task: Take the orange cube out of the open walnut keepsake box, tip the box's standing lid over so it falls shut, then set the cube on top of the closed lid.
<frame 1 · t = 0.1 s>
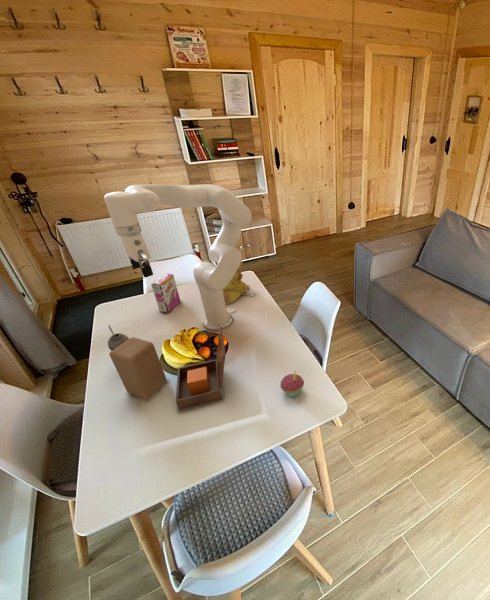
hand: (143, 271, 126), 37 cm above the table, tool pointing down, fingers open, 9 cm apart
cupcake: (292, 392, 127), on the table
giraffe plush: (230, 295, 183), on the table
beverage cup: (129, 365, 136), on the table
orange cube: (200, 387, 126), point 1 cm above the table, touching chest
lid: (220, 357, 123), point 13 cm above the table, hinge at 105.1°
candy bar box: (170, 306, 172), on the table
chest: (201, 388, 127), on the table
wooden block: (148, 388, 126), on the table
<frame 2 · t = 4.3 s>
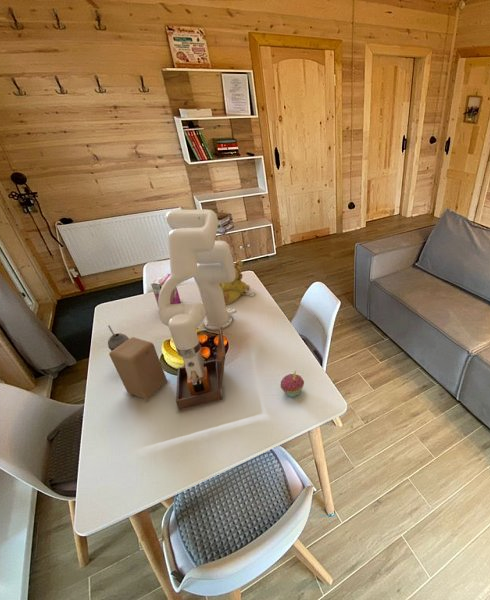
hand: (199, 383, 125), 3 cm above the table, tool pointing down, fingers closed on orange cube, 6 cm apart
orange cube: (200, 387, 126), point 1 cm above the table, touching chest, gripper
everything else where it was.
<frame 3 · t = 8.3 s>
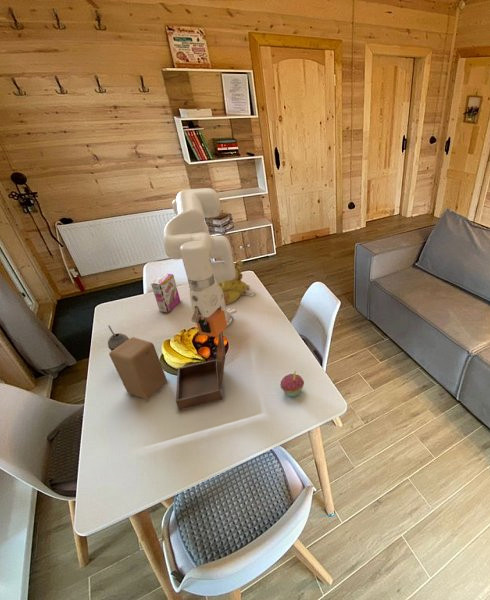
hand: (212, 325, 115), 28 cm above the table, tool pointing down, fingers closed on orange cube, 6 cm apart
orange cube: (213, 330, 116), point 26 cm above the table, touching gripper
everything else where it was.
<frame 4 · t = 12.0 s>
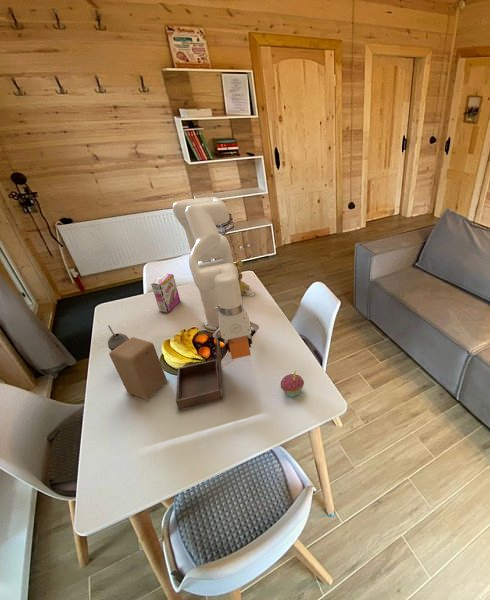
hand: (239, 347, 123), 16 cm above the table, tool pointing down, fingers closed on orange cube, 6 cm apart
orange cube: (240, 351, 124), point 14 cm above the table, touching gripper
lid: (218, 357, 122), point 13 cm above the table, hinge at 99.9°
everything else where it was.
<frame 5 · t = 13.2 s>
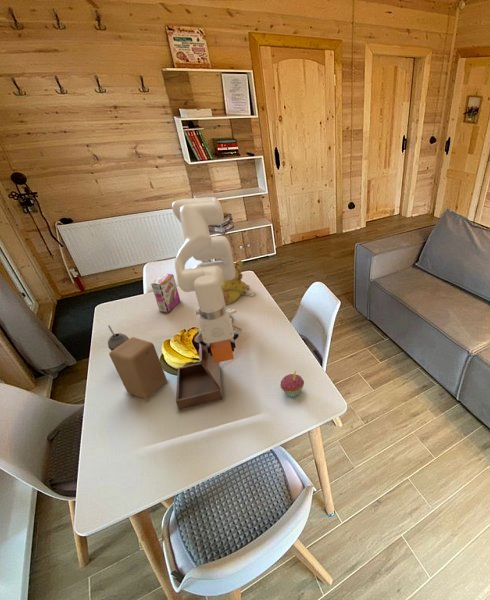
hand: (222, 351, 122), 16 cm above the table, tool pointing down, fingers closed on orange cube, 6 cm apart
orange cube: (223, 355, 123), point 14 cm above the table, touching gripper
lid: (209, 359, 121), point 13 cm above the table, hinge at 77.0°, touching gripper
everything else where it was.
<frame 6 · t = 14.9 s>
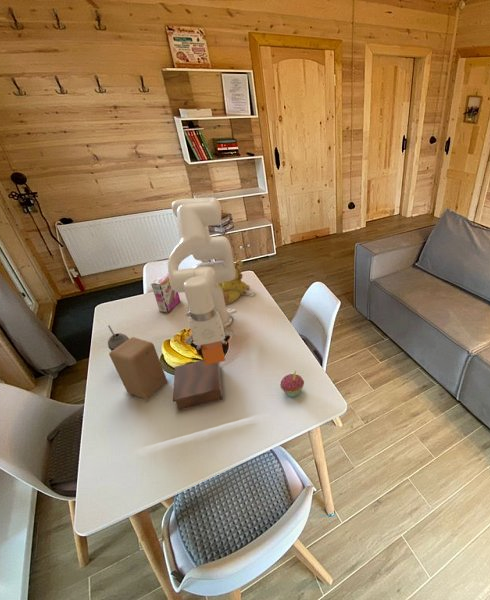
hand: (213, 352, 121), 16 cm above the table, tool pointing down, fingers closed on orange cube, 6 cm apart
orange cube: (214, 357, 122), point 14 cm above the table, touching gripper
lid: (196, 378, 123), point 6 cm above the table, hinge at -0.1°
everything else where it was.
when the fingers open (8 cm above the table, at t = 17.9 s): orange cube stays where it is, resting on lid.
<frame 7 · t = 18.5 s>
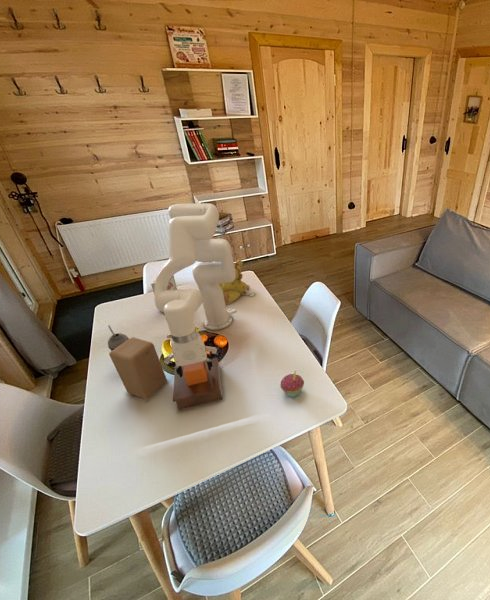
hand: (195, 371, 122), 9 cm above the table, tool pointing down, fingers open, 9 cm apart
orange cube: (197, 377, 123), point 6 cm above the table, touching lid
lid: (196, 378, 123), point 6 cm above the table, hinge at -0.2°, touching chest, orange cube
everything else where it was.
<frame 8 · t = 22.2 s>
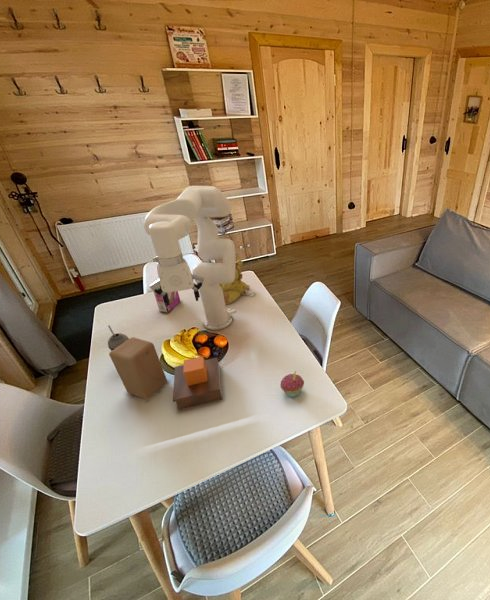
hand: (183, 301, 122), 30 cm above the table, tool pointing down, fingers open, 9 cm apart
nothing on the table moved.
at the end: lid at +0° (first picture: +105°); orange cube inside the target area on the chest (0.1 cm from its centre), point 6.0 cm above the chest's base; orange cube tilted 0° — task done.
